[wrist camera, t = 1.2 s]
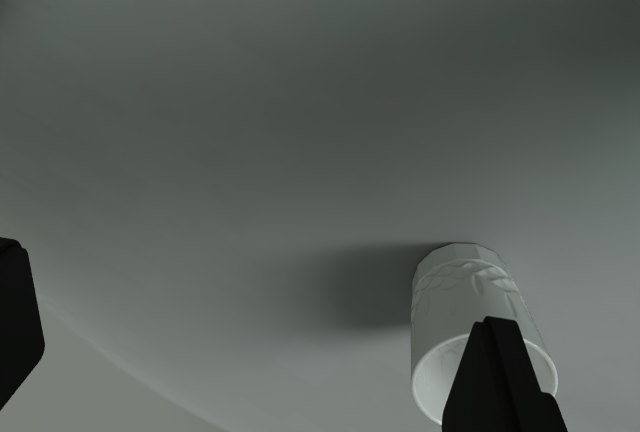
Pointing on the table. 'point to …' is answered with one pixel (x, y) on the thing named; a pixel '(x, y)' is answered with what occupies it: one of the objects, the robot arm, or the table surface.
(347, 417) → the table surface
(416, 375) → the white cup
